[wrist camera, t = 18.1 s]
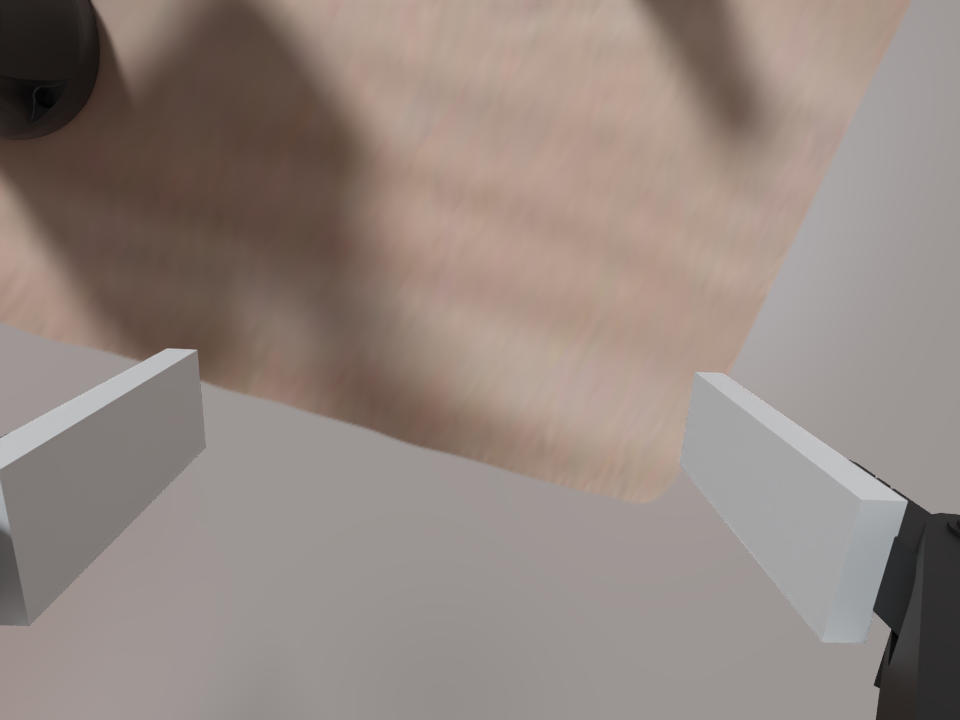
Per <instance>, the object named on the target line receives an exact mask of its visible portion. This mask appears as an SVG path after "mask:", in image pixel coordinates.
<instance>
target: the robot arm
mask: <svg viewBox="0 0 960 720" xmlns="http://www.w3.org/2000/svg"><path fill="white" fill-rule="evenodd" d="M98 64H99V41H98V33H97V27H96V23H95V19H94V15H93V12H92V9H91V6H90V4H89V1H88V0H0V138H4V139H30V138H35V137H40V136H43V135H46V134H49V133H51V132H53V131H55V130H57V129H59V128H61V127H62V126H64V125H65V124H67V123H68V122H69V121H70V120H71V119H73V118H74V117H75V116H76V115H77V113H78V112H79V111H80V110H81V109H82V107H83V106H84V104H85V103H86V101H87V99H88V98H89V95H90V93H91V91H92V89H93V86H94V83H95V80H96V76H97V71H98ZM201 398H202V397H201V385H200V374H199V362H198V350H192V349H170V348H167V349H165V350H163V351H161V352H159V353H158V354H156V355H154V356H152V357H150V358H148V359H146V360H145V361H143V362H141V363H139V364H137V365H135V366H133V367H132V368H130V369H128V370H126V371H124V372H122V373H120V374H119V375H117V376H115V377H113V378H111V379H109V380H107V381H106V382H104V383H102V384H100V385H98V386H96V387H94V388H93V389H91V390H89V391H87V392H85V393H83V394H82V395H80V396H78V397H76V398H74V399H72V400H70V401H68V402H67V403H65V404H63V405H61V406H59V407H57V408H55V409H54V410H52V411H50V412H48V413H46V414H44V415H42V416H41V417H39V418H37V419H35V420H33V421H31V422H29V423H28V424H26V425H24V426H22V427H20V428H18V429H16V430H15V431H13V432H11V433H8V434H6V435H4V436H2V437H0V625H17V626H18V625H19V626H30V625H31V624H32V623H33V622H34V620H36V619H37V618H38V617H39V616H40V615H41V613H43V612H44V610H46V609H47V608H48V607H49V606H50V604H51V603H52V602H53V601H54V600H55V599H56V598H57V597H58V596H59V595H60V594H61V593H62V592H63V591H64V590H65V589H66V588H67V587H68V586H69V585H70V584H71V583H72V582H73V581H74V580H75V579H76V578H77V577H78V576H79V575H80V574H81V573H82V572H83V571H84V570H85V569H86V568H87V567H88V566H89V565H90V564H91V563H92V562H93V561H94V560H95V559H96V558H97V557H98V556H99V555H100V554H101V553H102V552H103V551H104V550H105V549H106V548H107V547H108V546H109V545H110V544H111V543H112V542H113V541H114V540H115V539H116V538H117V537H118V536H119V535H120V534H121V533H122V532H123V530H125V529H126V528H127V526H129V525H130V523H132V521H133V520H134V519H135V518H137V516H138V515H139V514H140V513H141V512H142V511H143V510H144V509H145V508H146V507H147V506H148V505H149V504H150V503H151V502H152V501H153V500H154V499H155V498H156V497H157V496H158V495H159V494H160V493H161V492H162V491H163V490H164V489H165V488H166V487H167V486H168V485H169V484H170V483H171V482H172V481H173V480H174V479H175V478H176V477H177V476H178V475H179V474H180V473H181V472H182V471H183V470H184V469H185V468H186V467H187V466H188V465H189V464H190V463H191V462H192V461H193V460H194V459H195V458H196V457H197V456H198V455H199V454H200V453H201V452H202V451H203V450H204V449H205V448H206V443H205V432H204V420H203V409H202V399H201ZM679 465H680V466H681V467H682V469H683V470H684V471H685V472H686V474H687V475H688V476H689V477H690V479H691V480H692V481H693V482H694V484H695V485H696V486H697V487H698V489H699V490H700V491H701V492H702V494H703V495H704V496H705V497H706V499H707V500H708V501H709V502H710V503H711V505H712V506H713V507H714V508H715V510H716V511H717V512H718V513H719V515H720V516H721V517H722V518H723V520H724V521H725V522H726V523H727V525H728V526H729V527H730V528H731V529H732V531H733V532H734V533H735V535H736V536H737V537H738V538H739V540H740V541H741V542H742V543H743V545H744V546H745V547H746V548H747V550H748V551H749V552H750V553H751V554H752V556H753V557H754V558H755V559H756V561H757V562H758V563H759V564H760V566H761V567H762V568H763V569H764V571H765V572H766V573H767V574H768V576H769V577H770V578H771V579H772V581H773V582H774V583H775V584H776V586H777V587H778V588H779V589H780V591H781V592H782V593H783V594H784V595H785V597H786V598H787V599H788V601H789V602H790V603H791V604H792V605H793V607H794V608H795V609H796V610H797V612H798V613H799V614H800V615H801V617H802V618H803V619H804V620H805V622H806V623H807V624H808V625H809V626H810V628H811V629H812V630H813V631H814V633H815V634H816V635H817V636H818V638H819V639H820V640H821V642H835V643H865V642H866V638H867V635H868V632H869V628H870V625H871V622H872V619H873V615H874V612H875V613H876V614H877V615H878V616H879V617H880V618H881V619H882V620H883V621H884V622H885V623H886V624H887V625H888V626H889V627H890V628H891V632H890V636H889V639H888V642H887V645H886V648H885V651H884V654H883V658H882V661H881V664H880V667H879V670H878V673H877V676H876V680H875V683H874V686H876V687H878V688H880V693H879V700H878V707H877V715H876V720H960V515H957V514H945V513H938V514H930V513H929V512H927V511H926V510H925V509H923V508H922V507H920V506H919V505H917V504H916V503H914V502H913V501H911V500H910V499H909V498H907V497H906V496H904V495H903V494H901V493H900V492H898V491H897V490H895V489H891V488H890V485H888V484H887V483H885V482H884V481H882V480H880V479H879V478H875V475H873V474H872V473H870V472H869V471H867V470H866V469H865V468H863V467H862V466H860V465H859V464H857V463H855V462H853V461H851V460H848V459H846V458H845V457H843V456H842V455H841V454H839V453H838V452H836V451H835V450H833V449H832V448H830V447H829V446H827V445H826V444H825V443H823V442H822V441H820V440H819V439H817V438H816V437H814V436H813V435H811V434H810V433H809V432H807V431H806V430H804V429H803V428H801V427H800V426H799V425H797V424H796V423H794V422H793V421H791V420H790V419H788V418H787V417H785V416H784V415H783V414H781V413H780V412H778V411H777V410H775V409H774V408H772V407H771V406H770V405H768V404H767V403H765V402H764V401H762V400H761V399H759V398H758V397H756V396H755V395H754V394H752V393H751V392H749V391H748V390H746V389H745V388H744V387H742V386H741V385H739V384H737V383H736V382H735V381H733V380H732V379H730V378H729V377H728V376H726V375H725V374H723V373H708V372H695V375H694V381H693V387H692V393H691V398H690V404H689V410H688V416H687V422H686V428H685V433H684V439H683V445H682V451H681V457H680V463H679Z"/></svg>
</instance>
